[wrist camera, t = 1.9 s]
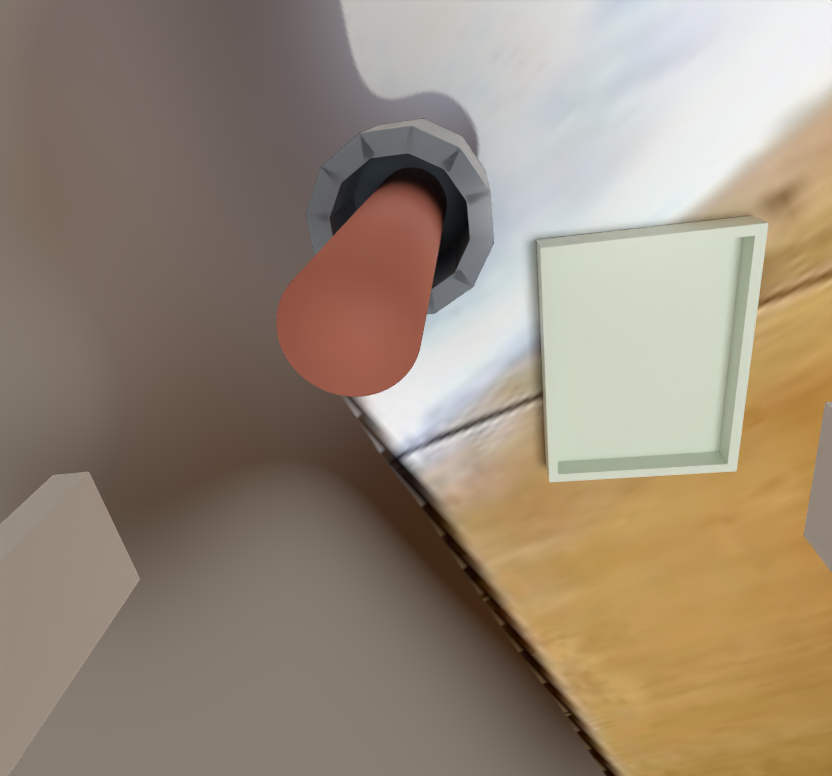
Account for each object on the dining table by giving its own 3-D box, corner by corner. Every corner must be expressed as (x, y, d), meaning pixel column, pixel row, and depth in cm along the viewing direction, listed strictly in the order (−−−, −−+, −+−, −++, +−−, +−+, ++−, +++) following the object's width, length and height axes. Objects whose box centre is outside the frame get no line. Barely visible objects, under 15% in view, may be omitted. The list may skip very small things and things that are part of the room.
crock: (326, 131, 33) (290, 142, 27) (481, 109, 32) (484, 115, 25) (353, 281, 37) (328, 323, 30) (493, 266, 36) (498, 307, 29)
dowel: (371, 172, 33) (260, 267, 15) (442, 162, 33) (411, 250, 15) (382, 242, 35) (293, 401, 17) (450, 235, 35) (430, 390, 17)
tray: (536, 239, 35) (540, 248, 33) (751, 215, 33) (768, 223, 32) (545, 464, 42) (549, 482, 40) (724, 453, 40) (736, 471, 39)
